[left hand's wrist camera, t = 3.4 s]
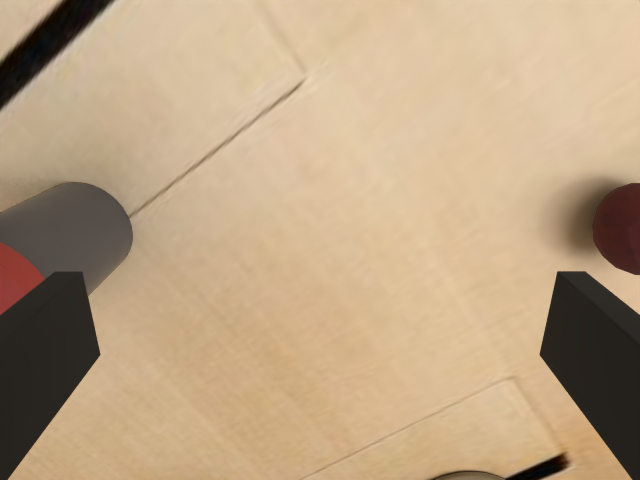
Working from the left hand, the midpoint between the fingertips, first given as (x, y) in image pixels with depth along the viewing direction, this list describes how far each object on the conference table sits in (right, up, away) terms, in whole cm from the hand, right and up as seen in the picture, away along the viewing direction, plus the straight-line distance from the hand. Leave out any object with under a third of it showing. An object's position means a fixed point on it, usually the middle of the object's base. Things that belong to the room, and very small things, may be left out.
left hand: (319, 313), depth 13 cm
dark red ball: (+27, +4, +28) cm, 39 cm away
